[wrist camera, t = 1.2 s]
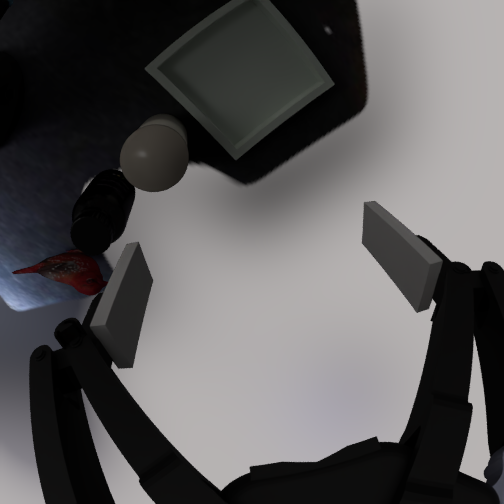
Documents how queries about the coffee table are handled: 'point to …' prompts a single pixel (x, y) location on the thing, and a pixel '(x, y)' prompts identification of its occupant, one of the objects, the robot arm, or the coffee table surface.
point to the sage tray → (241, 73)
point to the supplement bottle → (102, 212)
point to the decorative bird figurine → (71, 271)
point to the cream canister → (156, 154)
